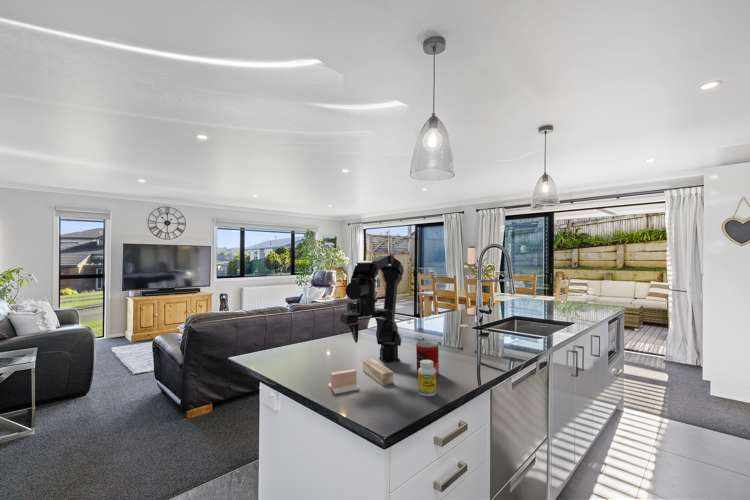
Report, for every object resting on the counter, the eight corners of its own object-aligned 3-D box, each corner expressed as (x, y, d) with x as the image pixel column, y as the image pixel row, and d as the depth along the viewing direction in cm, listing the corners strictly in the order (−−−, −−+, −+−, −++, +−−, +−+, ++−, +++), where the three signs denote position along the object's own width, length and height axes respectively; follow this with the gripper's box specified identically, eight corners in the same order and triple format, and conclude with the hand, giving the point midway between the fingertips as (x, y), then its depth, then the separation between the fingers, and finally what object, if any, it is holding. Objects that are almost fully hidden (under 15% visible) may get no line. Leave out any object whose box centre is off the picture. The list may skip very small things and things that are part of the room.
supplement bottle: (432, 389, 106) (431, 358, 106) (439, 395, 100) (438, 363, 101) (415, 390, 104) (415, 359, 105) (422, 397, 99) (421, 364, 99)
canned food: (440, 371, 122) (439, 340, 122) (436, 379, 114) (436, 346, 115) (419, 369, 124) (418, 339, 125) (414, 376, 117) (414, 344, 117)
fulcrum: (351, 381, 112) (351, 366, 113) (359, 389, 106) (359, 373, 106) (328, 386, 109) (328, 370, 109) (335, 393, 103) (335, 377, 103)
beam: (372, 369, 125) (372, 359, 125) (393, 384, 111) (393, 371, 111) (362, 371, 124) (362, 360, 124) (382, 386, 109) (382, 373, 109)
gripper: (377, 292, 131) (377, 332, 130) (333, 296, 121) (333, 339, 121) (393, 295, 121) (394, 338, 121) (347, 299, 111) (348, 346, 111)
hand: (367, 340), depth 119 cm, fingers open, 9 cm apart
